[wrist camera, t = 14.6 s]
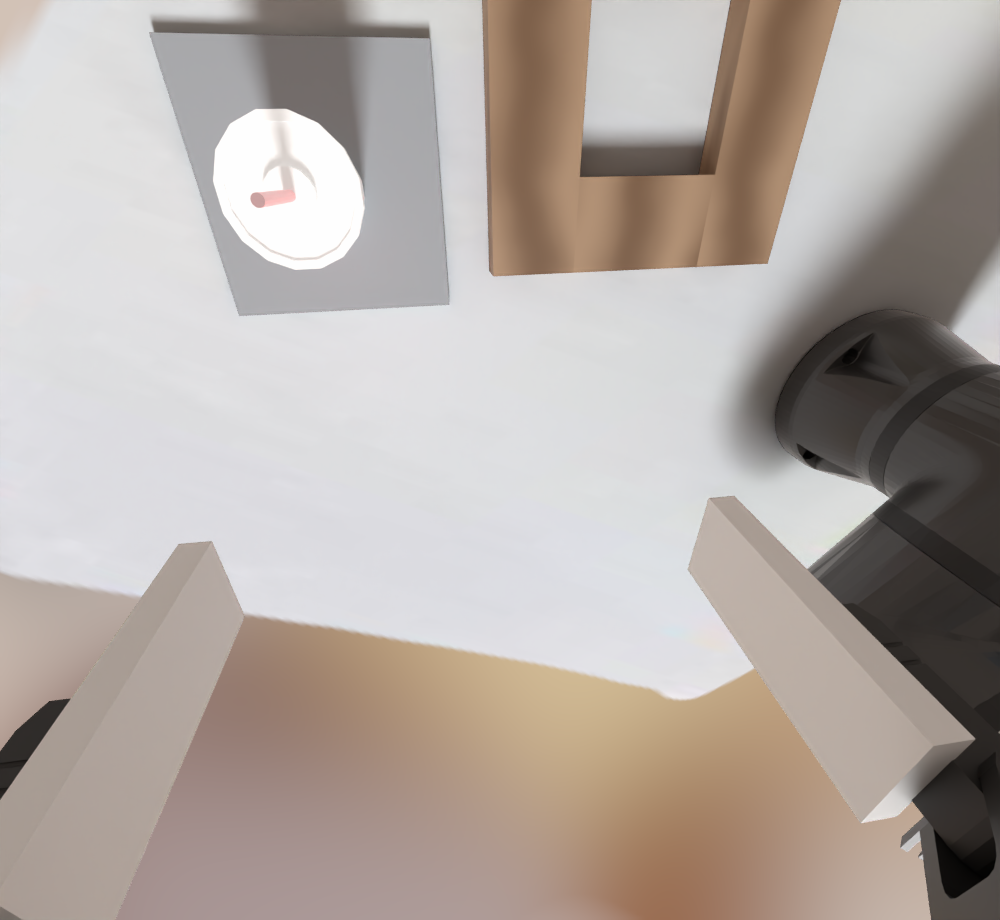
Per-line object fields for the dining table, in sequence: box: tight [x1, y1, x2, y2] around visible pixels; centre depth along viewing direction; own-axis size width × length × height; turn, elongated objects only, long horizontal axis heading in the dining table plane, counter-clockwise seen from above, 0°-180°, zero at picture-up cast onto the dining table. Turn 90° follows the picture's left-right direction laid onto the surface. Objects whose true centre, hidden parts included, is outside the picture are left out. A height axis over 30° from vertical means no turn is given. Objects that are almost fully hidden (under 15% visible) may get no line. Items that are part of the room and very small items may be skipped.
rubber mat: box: [149, 32, 449, 316], centre depth 27 cm, size 14×14×1 cm
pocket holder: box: [482, 0, 841, 276], centre depth 27 cm, size 20×20×2 cm
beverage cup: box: [213, 109, 365, 270], centre depth 21 cm, size 6×6×14 cm
